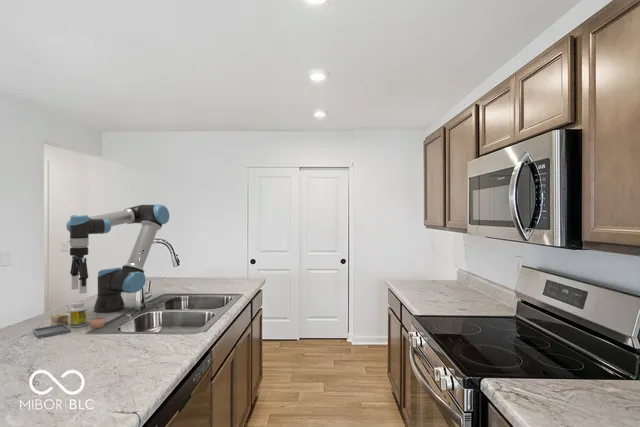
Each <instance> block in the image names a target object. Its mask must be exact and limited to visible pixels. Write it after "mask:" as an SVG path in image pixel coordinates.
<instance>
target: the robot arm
mask: <svg viewBox="0 0 640 427" xmlns="http://www.w3.org/2000/svg"><path fill="white" fill-rule="evenodd" d="M169 221H170V212H169V209H168V207H166V206H165V205H163V204H158V203H157V204H139V205H134V206H130V207H126V208H123V210H120V211H119V210H118V211H115V212H108V213H103V214H98V215H92V216H89V215H87V214H84V215H83V214H73V215H70V219H69V220H68V221H67V223H66V225H65V226H66V230H67V231H68V232H69V240H68V243H69V247H70V248H69V255H70V256H72V257H71V267H70V272H69V274H70V275H71V290H79V291H78V292H79V294H80V295H81V294H87V292H88V291H87V290H88V288H87V284H88V282H87V280H88V279H89V274H88V273H89V272H88V265H87V258H86V257H85V256H88V255H89V245H90V244H89V243H90V242H89V239H90V237H89V235H102V234H108V233H110V231H111V230H112V227H115V226H119V225H124V224H126V225H132V224H141V227H140V230H139V234H138V235H137V237H136V240H135V243H134V246H133V247H132V249H131V250H132V251H131V253H130V256H129V258H128V261H127V263H125V264H124V265H122V267H114V268H104V269H100V270H98V272H97V298H96V300H95V303H94V306H93V312H94V313H113V312H117V311H122V310H124V309H125V307H126V306H125V305H126V304H125V301H124V299H123V296H122V293H126V294H135V293H137V292H140V291H141V290H142V289H143V288H144V286H145V284H146V281H147V280H146V275H145V270H144V265H145V263H146V261H147V259H148V257H149V256H148V255H149V252H150V250H151V248H152V246H153V243H154V241H155V240H154V239H155V237H156V234H157V233H158V231H159V230H161V229H162V226H163V225H165V224H167V223H168V222H169ZM151 243H152V244H151ZM142 250H144V251H143V252H142ZM139 253H140V254H139ZM142 253H143V254H142ZM139 257H140V261H139Z"/></svg>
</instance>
